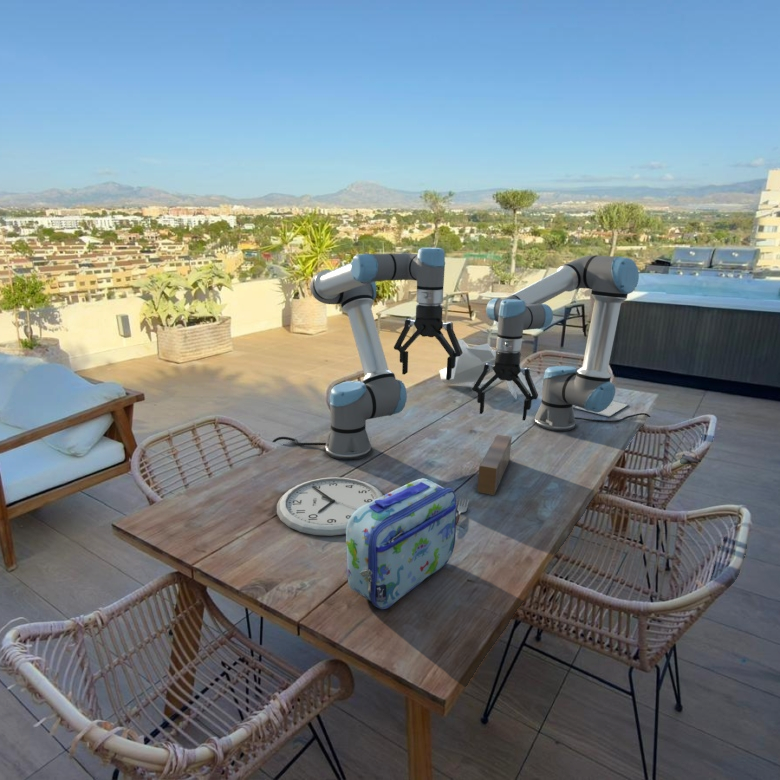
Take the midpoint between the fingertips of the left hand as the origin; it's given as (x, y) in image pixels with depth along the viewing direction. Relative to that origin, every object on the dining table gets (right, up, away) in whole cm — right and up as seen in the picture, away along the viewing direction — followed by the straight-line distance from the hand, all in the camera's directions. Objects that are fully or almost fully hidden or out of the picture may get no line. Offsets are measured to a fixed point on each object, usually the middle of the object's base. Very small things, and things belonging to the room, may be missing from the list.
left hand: (426, 376), depth 155 cm
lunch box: (-8, -45, -42) cm, 62 cm away
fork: (+7, -38, -17) cm, 42 cm away
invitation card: (+81, -11, +72) cm, 108 cm away
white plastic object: (+31, -5, +89) cm, 94 cm away
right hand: (+25, -12, +12) cm, 30 cm away
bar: (+22, -30, +7) cm, 38 cm away
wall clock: (-27, -36, -12) cm, 46 cm away
